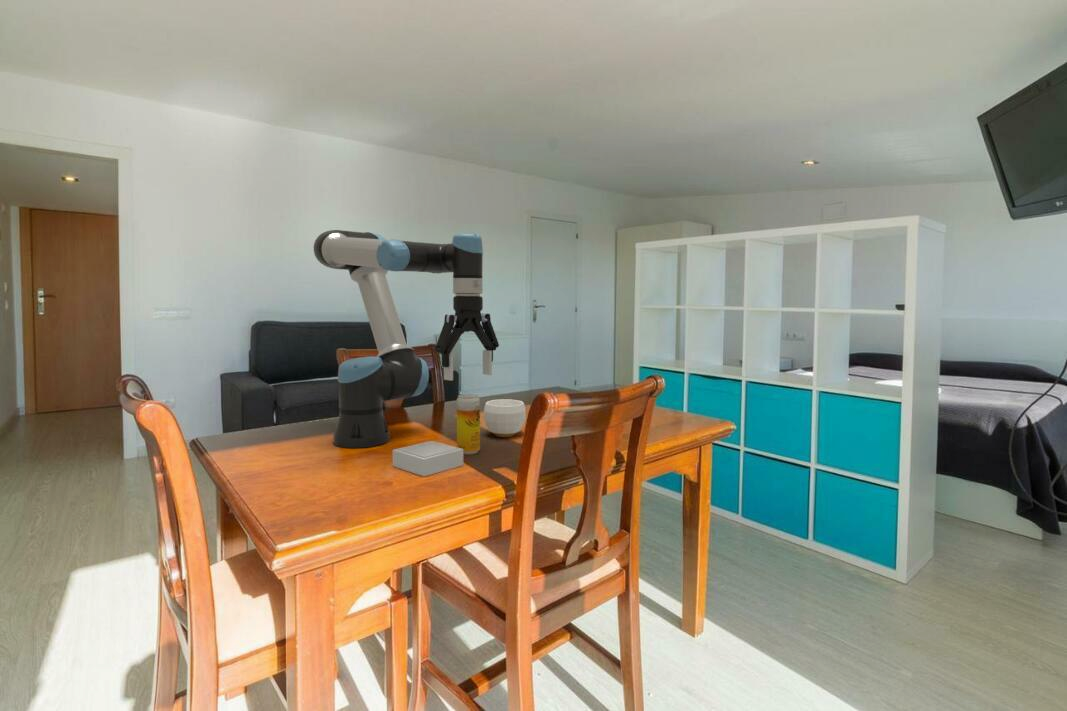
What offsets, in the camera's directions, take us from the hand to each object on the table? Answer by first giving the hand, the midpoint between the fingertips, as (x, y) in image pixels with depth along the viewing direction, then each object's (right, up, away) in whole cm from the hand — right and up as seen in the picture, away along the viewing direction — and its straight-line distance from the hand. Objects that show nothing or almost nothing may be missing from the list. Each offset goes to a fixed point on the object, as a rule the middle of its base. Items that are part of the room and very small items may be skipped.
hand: (468, 377), depth 152 cm
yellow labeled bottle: (0, -20, +2) cm, 20 cm away
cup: (+8, -18, +21) cm, 29 cm away
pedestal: (-9, -21, -10) cm, 25 cm away
